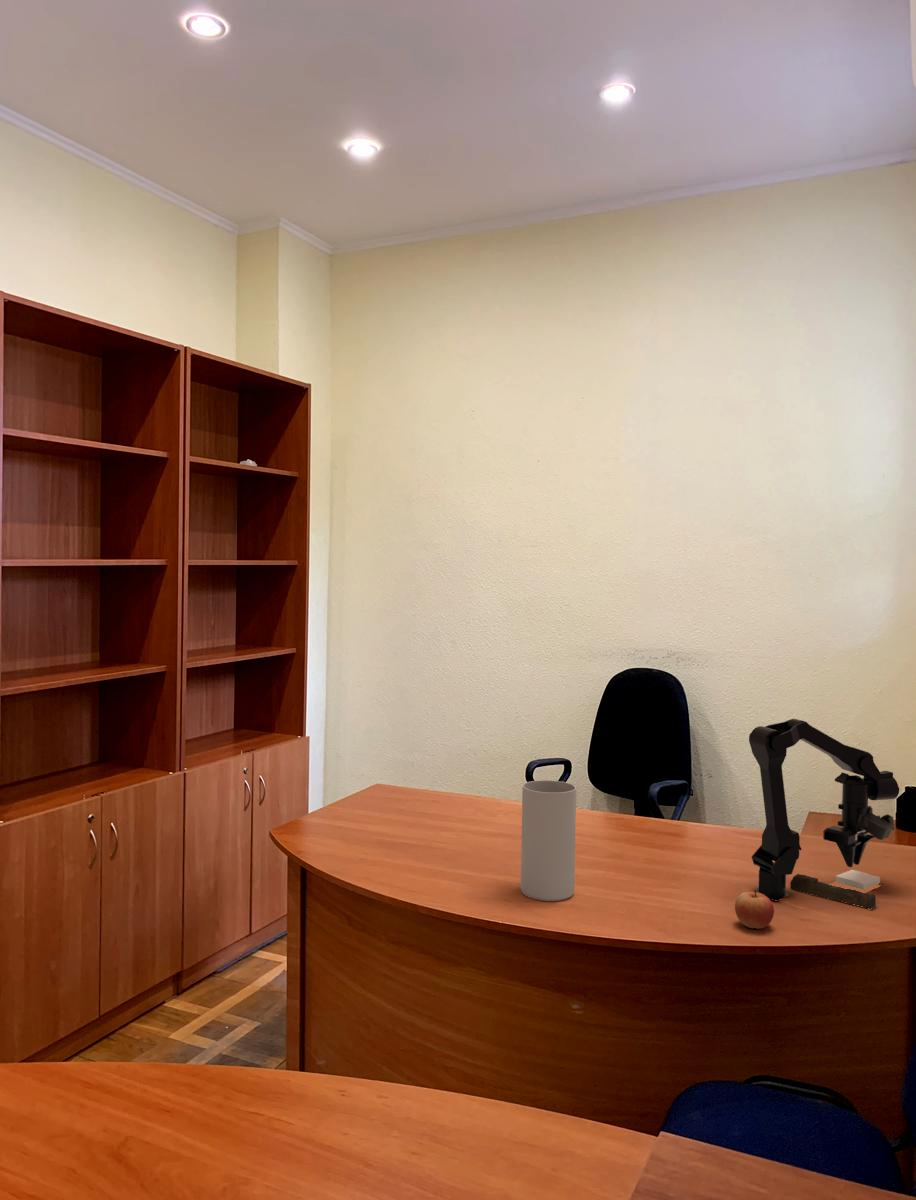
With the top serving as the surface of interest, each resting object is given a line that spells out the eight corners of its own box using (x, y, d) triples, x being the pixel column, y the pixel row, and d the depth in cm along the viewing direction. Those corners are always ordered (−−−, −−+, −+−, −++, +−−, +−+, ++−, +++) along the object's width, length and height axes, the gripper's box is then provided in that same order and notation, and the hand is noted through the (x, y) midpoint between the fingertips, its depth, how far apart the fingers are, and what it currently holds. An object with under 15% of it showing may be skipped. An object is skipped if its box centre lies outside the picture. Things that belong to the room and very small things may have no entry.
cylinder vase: (585, 894, 211) (587, 787, 210) (548, 906, 203) (550, 795, 202) (546, 880, 220) (548, 778, 220) (509, 891, 212) (511, 785, 211)
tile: (863, 883, 214) (880, 877, 219) (835, 875, 220) (852, 869, 225) (863, 891, 214) (879, 884, 219) (835, 883, 220) (851, 876, 225)
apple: (746, 916, 199) (747, 880, 199) (780, 927, 193) (781, 890, 193) (726, 925, 193) (727, 888, 193) (760, 936, 188) (761, 898, 187)
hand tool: (877, 910, 205) (877, 889, 204) (870, 914, 202) (871, 893, 202) (795, 889, 218) (795, 869, 218) (788, 893, 215) (788, 873, 215)
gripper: (869, 814, 205) (867, 882, 206) (906, 802, 217) (904, 866, 218) (822, 804, 214) (820, 869, 214) (861, 793, 226) (859, 855, 226)
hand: (853, 865), depth 218 cm, fingers open, 3 cm apart
